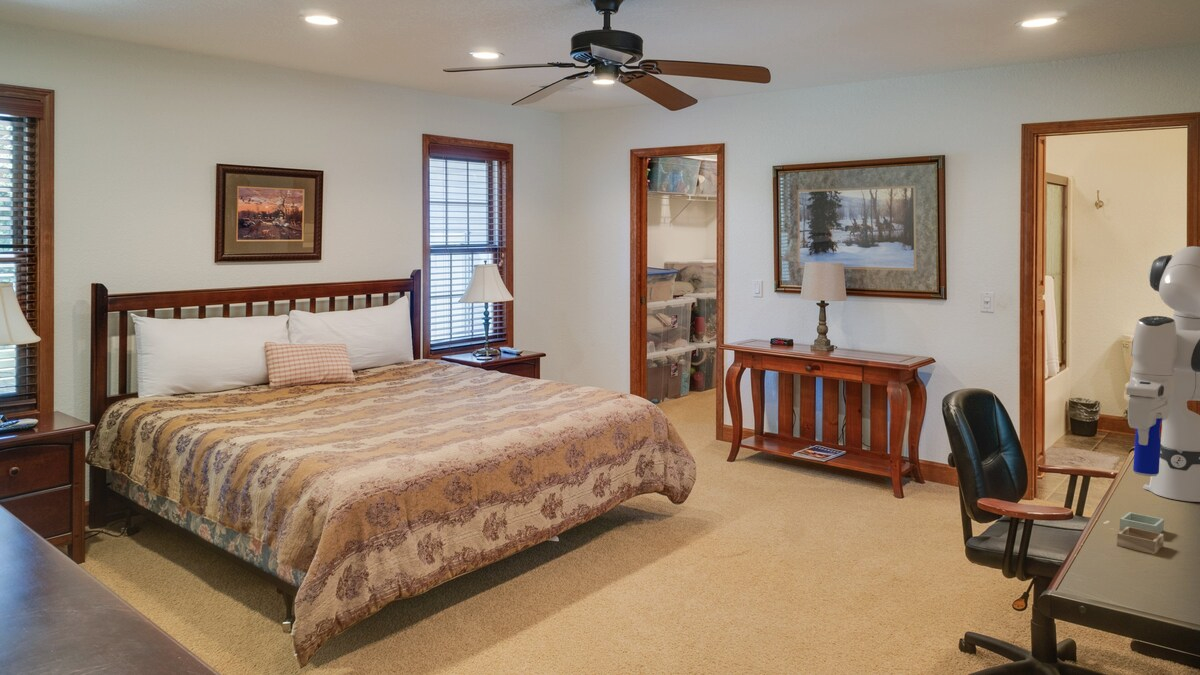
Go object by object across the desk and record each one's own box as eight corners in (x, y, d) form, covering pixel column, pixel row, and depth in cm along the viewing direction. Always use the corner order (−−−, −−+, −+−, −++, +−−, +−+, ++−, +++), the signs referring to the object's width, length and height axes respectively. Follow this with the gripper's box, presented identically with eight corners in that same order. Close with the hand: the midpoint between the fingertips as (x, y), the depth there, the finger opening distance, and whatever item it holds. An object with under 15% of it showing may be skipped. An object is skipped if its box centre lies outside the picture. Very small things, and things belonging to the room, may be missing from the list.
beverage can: (1162, 477, 199) (1166, 414, 197) (1138, 476, 200) (1142, 413, 198) (1153, 471, 204) (1157, 410, 202) (1129, 470, 205) (1133, 409, 203)
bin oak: (1126, 537, 209) (1127, 526, 209) (1163, 546, 203) (1164, 534, 203) (1116, 545, 204) (1117, 533, 203) (1154, 554, 198) (1154, 541, 198)
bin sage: (1128, 523, 220) (1129, 512, 220) (1163, 530, 214) (1164, 519, 214) (1119, 530, 215) (1120, 518, 214) (1154, 537, 209) (1155, 526, 209)
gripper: (1148, 379, 209) (1145, 433, 210) (1123, 388, 195) (1119, 446, 196) (1178, 382, 204) (1174, 438, 206) (1155, 391, 190) (1151, 451, 192)
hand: (1147, 442), depth 201 cm, fingers closed on beverage can, 5 cm apart
